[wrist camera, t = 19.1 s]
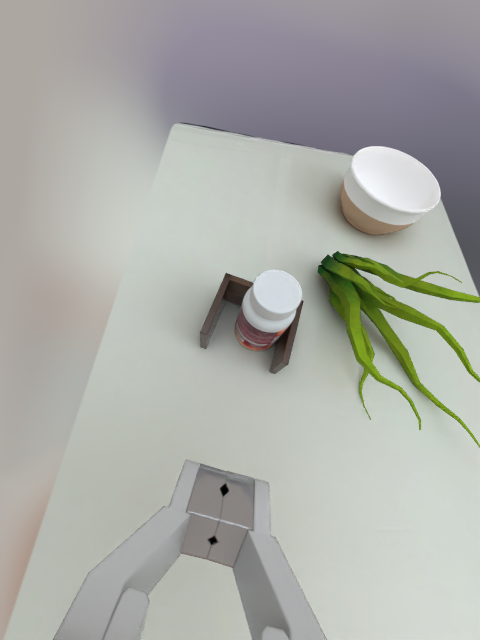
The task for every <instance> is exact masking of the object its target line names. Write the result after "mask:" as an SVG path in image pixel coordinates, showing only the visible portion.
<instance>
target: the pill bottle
mask: <svg viewBox="0 0 480 640" xmlns="http://www.w3.org/2000/svg"><path fill="white" fill-rule="evenodd" d="M301 299H302V290H301V287H300V285H299V283H298V282H297V280H296V279H295V278H294V277H293V276H292V275H290V274H289V273H287V272H284V271H281V270H276V269H273V270H267V271H264V272H262V273H261V274H259V275H258V276H257V278H256V279H255V281H254V283H253V286H252V287H251V288H250V289H249V290H248V291H247V292H246V294H245V296H244V299H243V302H242V305H241V308H240V311H239V314H238V318H237V321H236V324H235V334H236V337H237V339H238V341H239V342H240V343H241V344H242V345H243V346H244V347H246V348H248V349H250V350H253V351H263V350H266V349H268V348H269V347H271V346H272V345H273V344H274V343H275V342H276V341H277V340H278V338H279V337H280V336H281V335H282V334H283V332H284V331H285V330H286V329H287V328H288V327H289V325H290V324H291V323H292V321H293V319H294V317H295V314H296V309H297V307H298V306H299V304H300V302H301Z"/></svg>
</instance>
